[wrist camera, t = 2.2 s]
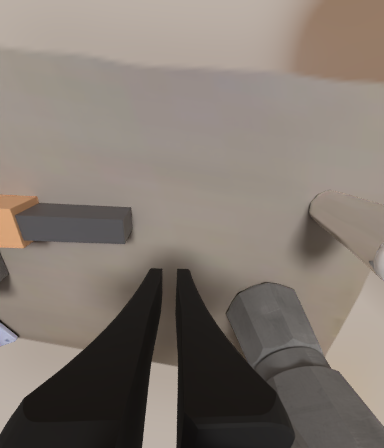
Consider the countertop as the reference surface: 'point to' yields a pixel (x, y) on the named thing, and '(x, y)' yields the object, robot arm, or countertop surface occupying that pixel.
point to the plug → (60, 222)
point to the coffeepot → (300, 371)
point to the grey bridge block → (3, 269)
